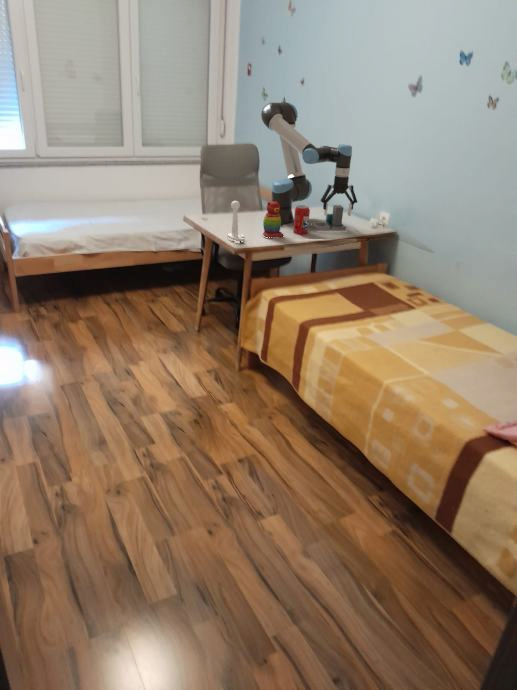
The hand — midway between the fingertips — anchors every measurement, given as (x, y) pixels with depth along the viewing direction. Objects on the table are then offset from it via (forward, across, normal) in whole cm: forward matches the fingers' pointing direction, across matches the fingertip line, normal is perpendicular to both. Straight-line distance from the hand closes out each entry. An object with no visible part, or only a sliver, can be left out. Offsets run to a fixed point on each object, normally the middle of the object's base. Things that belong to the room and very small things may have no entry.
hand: (337, 215), depth 289 cm
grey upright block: (+7, 0, 0) cm, 7 cm away
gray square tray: (+8, -4, 0) cm, 9 cm away
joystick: (+8, -58, -19) cm, 61 cm away
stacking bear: (+8, -38, -11) cm, 41 cm away
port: (+7, 0, +2) cm, 7 cm away
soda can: (+8, -22, -9) cm, 26 cm away
